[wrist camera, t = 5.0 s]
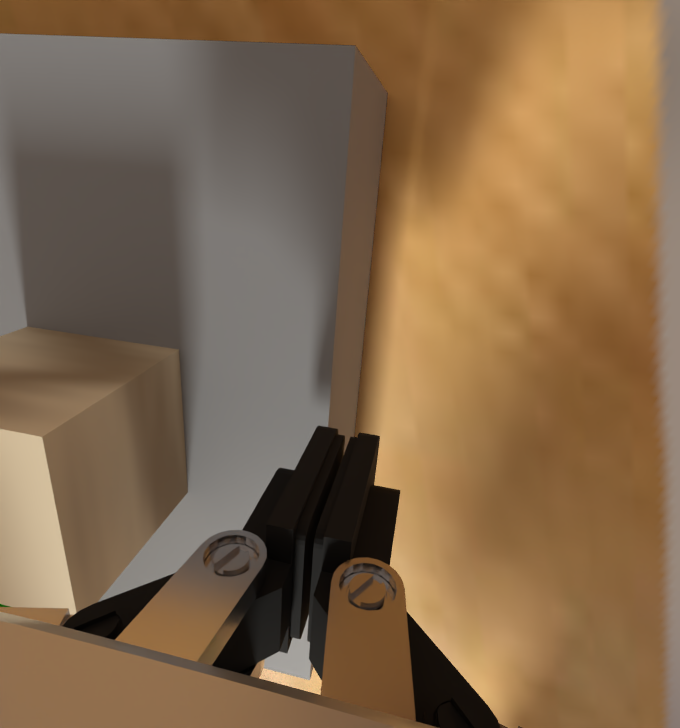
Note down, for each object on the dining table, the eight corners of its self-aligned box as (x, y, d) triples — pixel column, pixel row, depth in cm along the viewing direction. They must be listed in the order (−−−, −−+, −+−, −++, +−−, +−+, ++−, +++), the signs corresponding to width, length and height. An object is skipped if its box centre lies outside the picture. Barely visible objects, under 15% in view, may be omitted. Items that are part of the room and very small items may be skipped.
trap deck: (387, 93, 15) (355, 45, 10) (342, 560, 23) (309, 680, 17) (-269, 60, 20) (-539, 15, 14) (-125, 459, 27) (-267, 528, 22)
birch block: (178, 349, 13) (41, 436, 9) (187, 492, 15) (79, 625, 11) (27, 326, 14) (-170, 395, 10) (53, 465, 16) (-100, 577, 12)
